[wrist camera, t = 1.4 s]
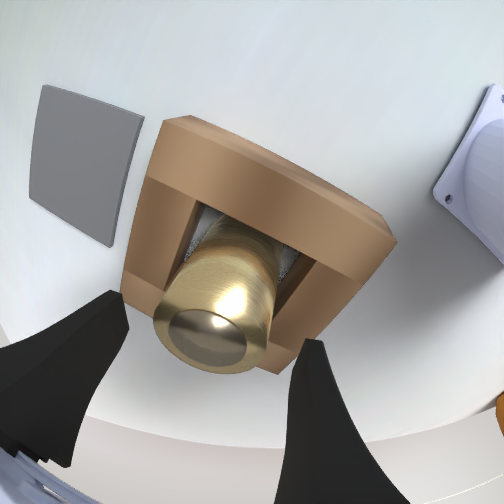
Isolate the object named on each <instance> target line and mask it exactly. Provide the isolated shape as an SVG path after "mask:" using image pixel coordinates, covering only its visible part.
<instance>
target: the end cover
mask: <svg viewBox="0 0 504 504" xmlns="http://www.w3.org/2000/svg"><path fill="white" fill-rule="evenodd" d="M282 255H283V243H282V242H280V241H278V240H276V239H275V238H273V237H271V236H269V235H267V234H265V233H263V232H261V231H259V230H257V229H255V228H253V227H251V226H249V225H247V224H245V223H243V222H241V221H239V220H237V219H235V218H233V217H231V216H229V215H227V214H224V215H222V216H220V217H219V218H218V219H216V220H215V221H214V222H213V224H212V225H211V227H210V228H209V229H208V231H207V232H206V234H205V235H204V237H203V238H202V239H201V241H200V242H199V244H198V245H197V247H196V248H195V250H194V251H193V253H192V254H191V256H190V257H189V258H188V260H187V261H186V263H185V264H184V266H183V267H182V269H181V270H180V272H179V273H178V275H177V276H176V278H175V279H174V281H173V282H172V284H171V285H170V287H169V289H168V290H167V292H166V293H165V295H164V296H163V298H162V299H161V301H160V302H159V304H158V306H157V307H156V309H155V312H154V316H153V324H154V328H155V331H156V334H157V336H158V338H159V339H160V341H161V342H162V343H163V345H164V346H165V347H166V348H167V349H168V350H169V351H170V352H171V353H172V354H173V355H174V356H176V357H177V358H179V359H180V360H182V361H183V362H185V363H187V364H189V365H191V366H193V367H195V368H198V369H201V370H204V371H208V372H212V373H218V374H236V373H241V372H245V371H248V370H250V369H252V368H254V367H255V366H257V365H258V364H259V363H260V362H261V361H262V359H263V358H264V356H265V353H266V349H267V343H268V338H269V332H270V327H271V321H272V315H273V310H274V304H275V298H276V292H277V286H278V280H279V274H280V268H281V261H282Z"/></svg>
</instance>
